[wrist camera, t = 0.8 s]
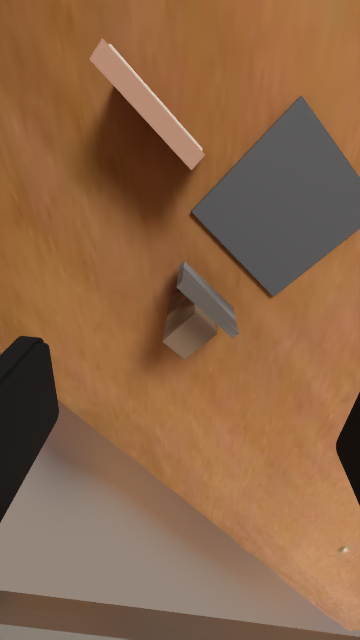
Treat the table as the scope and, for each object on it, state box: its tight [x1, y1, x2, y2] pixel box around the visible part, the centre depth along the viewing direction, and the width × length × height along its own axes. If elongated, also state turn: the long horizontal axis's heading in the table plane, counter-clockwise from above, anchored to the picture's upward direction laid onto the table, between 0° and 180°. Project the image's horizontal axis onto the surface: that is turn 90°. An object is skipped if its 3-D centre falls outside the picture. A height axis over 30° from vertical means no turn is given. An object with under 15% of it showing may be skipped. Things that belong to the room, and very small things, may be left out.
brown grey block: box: [162, 261, 239, 360], centre depth 34 cm, size 5×8×10 cm, turn 46°
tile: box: [90, 38, 205, 170], centre depth 26 cm, size 2×10×8 cm, turn 46°
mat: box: [191, 96, 360, 297], centre depth 33 cm, size 14×14×1 cm
